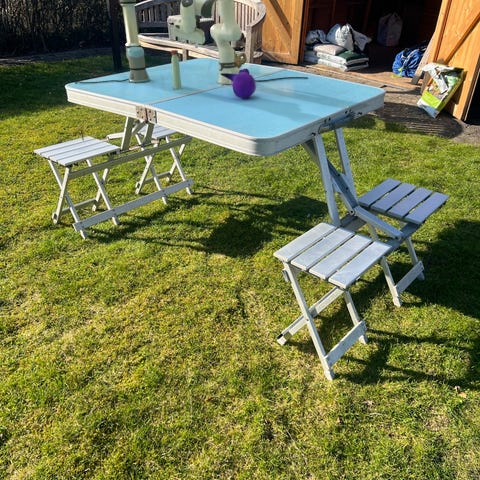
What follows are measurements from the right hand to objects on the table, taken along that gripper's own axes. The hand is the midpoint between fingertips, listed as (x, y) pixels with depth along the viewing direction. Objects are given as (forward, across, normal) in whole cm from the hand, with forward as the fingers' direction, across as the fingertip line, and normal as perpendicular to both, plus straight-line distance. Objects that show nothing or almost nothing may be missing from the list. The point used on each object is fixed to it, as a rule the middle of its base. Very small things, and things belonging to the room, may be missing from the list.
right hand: (189, 45), depth 284 cm
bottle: (+35, +9, +5) cm, 37 cm away
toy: (+18, -39, +10) cm, 45 cm away
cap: (+14, +15, -6) cm, 22 cm away
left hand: (+38, +25, -59) cm, 74 cm away
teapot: (+68, -7, -64) cm, 93 cm away
